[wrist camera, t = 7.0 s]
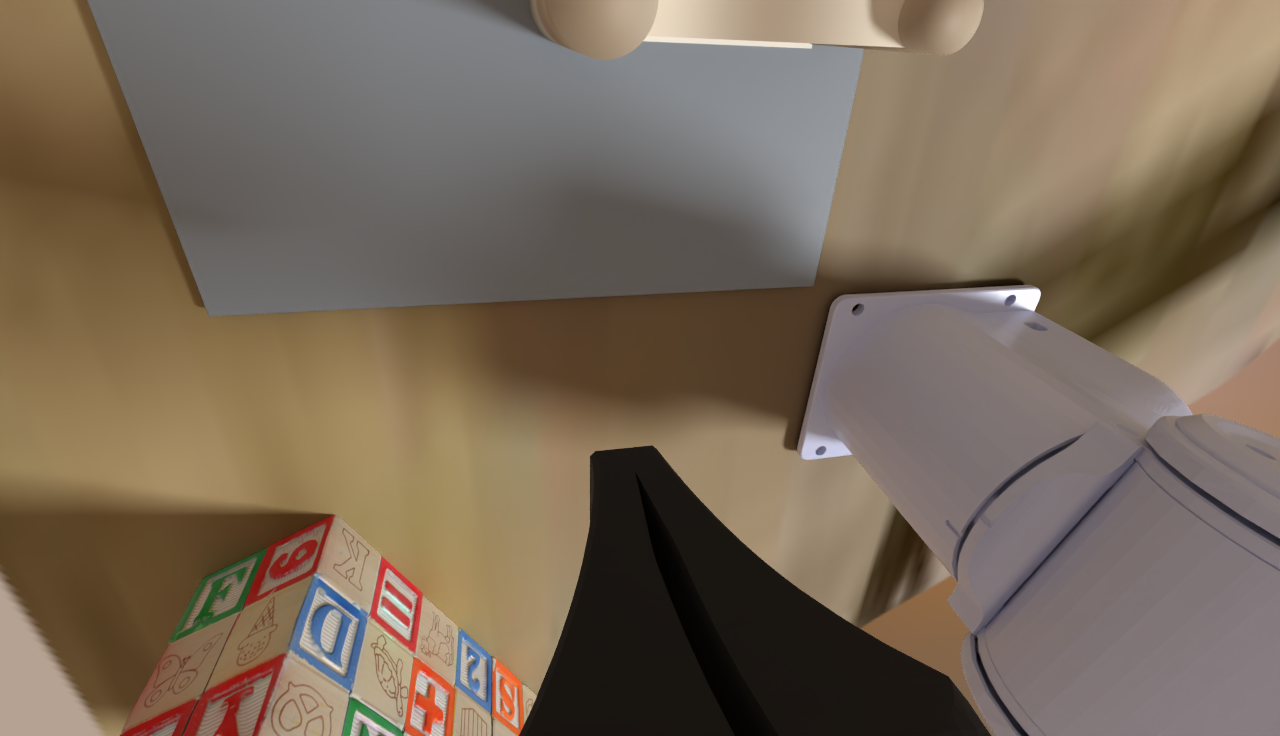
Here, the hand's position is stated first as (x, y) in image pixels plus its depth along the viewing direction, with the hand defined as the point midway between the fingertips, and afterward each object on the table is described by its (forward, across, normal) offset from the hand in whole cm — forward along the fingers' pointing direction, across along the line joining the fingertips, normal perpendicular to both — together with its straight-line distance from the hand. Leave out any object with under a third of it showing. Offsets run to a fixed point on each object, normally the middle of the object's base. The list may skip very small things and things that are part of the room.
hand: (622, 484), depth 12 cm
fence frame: (+9, -3, -9) cm, 13 cm away
